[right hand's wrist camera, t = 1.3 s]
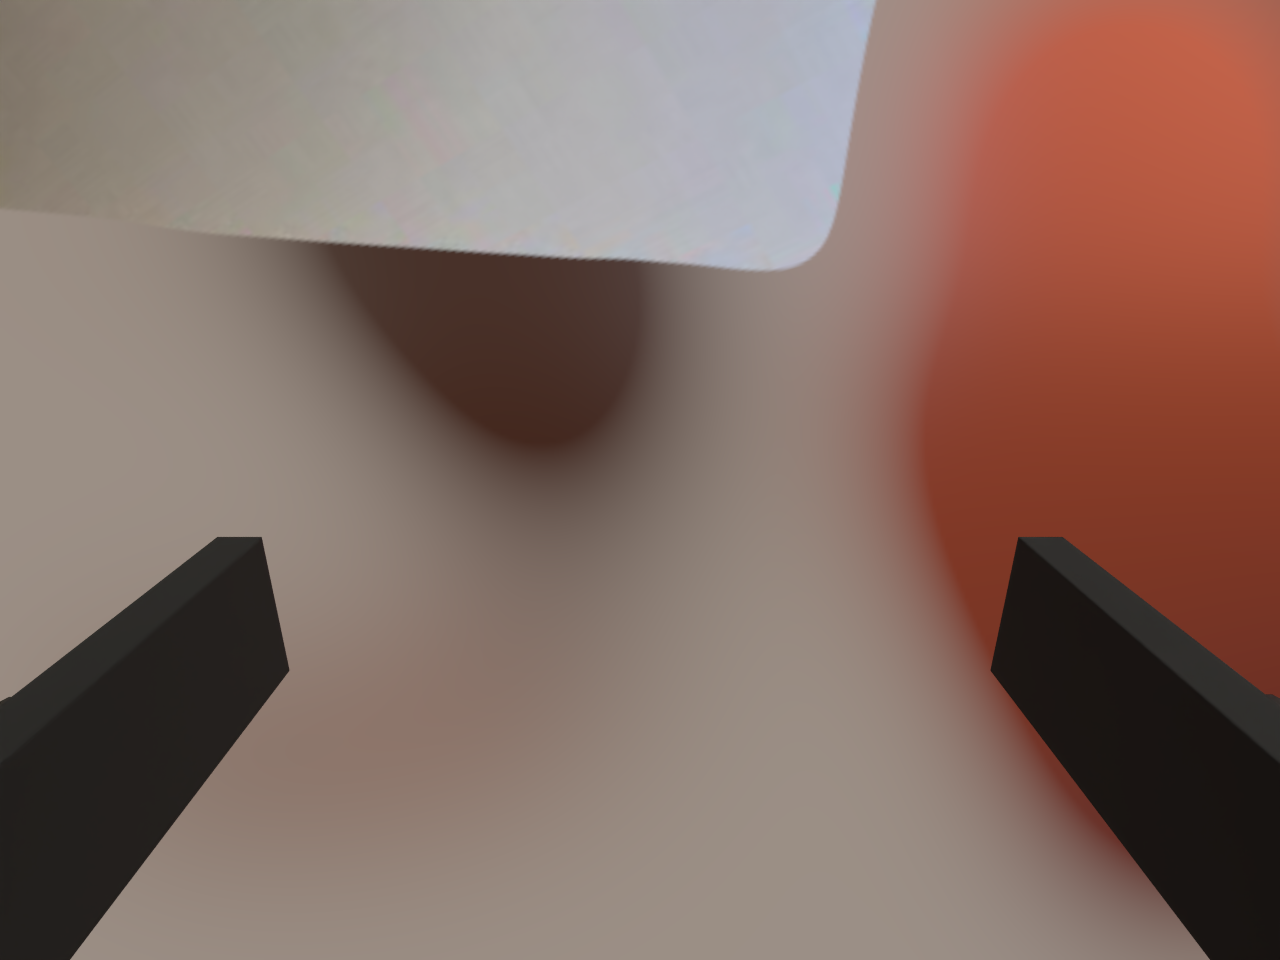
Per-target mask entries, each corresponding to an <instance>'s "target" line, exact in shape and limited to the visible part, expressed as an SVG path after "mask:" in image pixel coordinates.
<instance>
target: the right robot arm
mask: <svg viewBox="0 0 1280 960" xmlns="http://www.w3.org/2000/svg"><path fill="white" fill-rule="evenodd" d="M288 672H289V666H288V661H287V656H286V651H285V647H284V642H283V637H282V632H281V628H280V623H279V618H278V613H277V608H276V604H275V599H274V594H273V589H272V585H271V580H270V575H269V570H268V565H267V561H266V556H265V551H264V546H263V541H262V537H217V538H216V539H214V540H213V541H212V542H210V543H209V544H208V545H207V546H205V547H204V548H203V549H201V550H200V551H199V552H198V553H196V554H195V555H194V556H192V557H191V558H190V559H189V560H187V561H186V562H185V563H183V564H182V565H181V566H180V567H178V568H177V569H176V570H174V571H173V572H172V573H171V574H169V575H168V576H167V577H165V578H164V579H163V580H162V581H160V582H159V583H158V584H156V585H155V586H154V587H153V588H151V589H150V590H149V591H147V592H146V593H145V594H144V595H142V596H141V597H140V598H138V599H137V600H136V601H135V602H133V603H132V604H131V605H129V606H128V607H127V608H125V609H124V610H123V611H122V612H120V613H119V614H118V615H116V616H115V617H114V618H113V619H111V620H110V621H109V622H108V623H106V624H105V625H104V626H102V627H101V628H100V629H98V630H97V631H96V632H95V633H93V634H92V635H91V636H89V637H88V638H87V639H86V640H84V641H83V642H82V643H80V644H79V645H78V646H77V647H75V648H74V649H73V650H71V651H70V652H69V653H68V654H66V655H65V656H64V657H62V658H61V659H60V660H59V661H57V662H56V663H55V664H53V665H52V666H51V667H50V668H48V669H47V670H46V671H44V672H43V673H42V674H41V675H39V676H38V677H37V678H35V679H34V680H33V681H32V682H30V683H29V684H28V685H26V686H25V687H24V688H23V689H21V690H20V691H19V692H17V693H16V694H15V695H14V696H12V697H8V698H6V699H4V700H2V701H0V960H70V959H71V958H72V956H73V955H74V954H75V952H76V951H77V950H78V948H79V947H80V946H81V944H82V943H83V942H84V940H85V939H86V938H87V936H88V935H89V934H90V933H91V931H92V930H93V928H94V927H95V926H96V925H97V923H98V922H99V921H100V919H101V918H102V917H103V915H104V914H105V913H106V911H107V910H108V909H109V908H110V906H111V905H112V904H113V902H114V901H115V900H116V898H117V897H118V896H119V894H120V893H121V892H122V890H123V889H124V888H125V886H126V885H127V884H128V882H129V881H130V880H131V879H132V877H133V876H134V875H135V873H136V872H137V871H138V869H139V868H140V867H141V865H142V864H143V863H144V861H145V860H146V859H147V857H148V856H149V855H150V854H151V852H152V851H153V850H154V848H155V847H156V846H157V844H158V843H159V842H160V840H161V839H162V838H163V836H164V835H165V834H166V832H167V831H168V830H169V828H170V827H171V826H172V825H173V823H174V822H175V820H176V819H177V818H178V817H179V815H180V814H181V813H182V811H183V810H184V809H185V807H186V806H187V805H188V803H189V802H190V801H191V799H192V798H193V797H194V796H195V794H196V793H197V792H198V790H199V789H200V788H201V786H202V785H203V784H204V782H205V781H206V780H207V778H208V777H209V776H210V774H211V773H212V772H213V771H214V769H215V768H216V767H217V765H218V764H219V763H220V761H221V760H222V759H223V757H224V756H225V755H226V753H227V752H228V751H229V749H230V748H231V747H232V746H233V744H234V743H235V742H236V740H237V739H238V738H239V736H240V735H241V734H242V732H243V731H244V730H245V728H246V727H247V726H248V724H249V723H250V722H251V721H252V719H253V718H254V716H255V715H256V714H257V713H258V711H259V710H260V709H261V707H262V706H263V705H264V703H265V702H266V701H267V699H268V698H269V697H270V695H271V694H272V693H273V692H274V690H275V689H276V688H277V686H278V685H279V684H280V682H281V681H282V680H283V678H284V677H285V676H286V674H287V673H288ZM991 672H992V673H993V674H994V676H995V677H996V678H997V680H998V681H999V682H1000V684H1001V685H1002V686H1003V688H1004V689H1005V690H1006V691H1007V693H1008V694H1009V695H1010V697H1011V698H1012V699H1013V701H1014V702H1015V703H1016V705H1017V706H1018V707H1019V709H1020V710H1021V711H1022V713H1023V714H1024V715H1025V717H1026V718H1027V719H1028V720H1029V722H1030V723H1031V724H1032V726H1033V727H1034V728H1035V730H1036V731H1037V732H1038V734H1039V735H1040V736H1041V738H1042V739H1043V740H1044V742H1045V743H1046V744H1047V745H1048V747H1049V748H1050V749H1051V751H1052V752H1053V753H1054V755H1055V756H1056V757H1057V759H1058V760H1059V761H1060V763H1061V764H1062V765H1063V767H1064V768H1065V769H1066V771H1067V772H1068V773H1069V775H1070V776H1071V777H1072V778H1073V780H1074V781H1075V782H1076V784H1077V785H1078V786H1079V788H1080V789H1081V790H1082V792H1083V793H1084V794H1085V796H1086V797H1087V798H1088V800H1089V801H1090V802H1091V803H1092V805H1093V806H1094V807H1095V809H1096V810H1097V811H1098V813H1099V814H1100V815H1101V817H1102V818H1103V819H1104V821H1105V822H1106V823H1107V825H1108V826H1109V827H1110V829H1111V830H1112V831H1113V832H1114V834H1115V835H1116V836H1117V838H1118V839H1119V840H1120V842H1121V843H1122V844H1123V846H1124V847H1125V848H1126V850H1127V851H1128V852H1129V854H1130V855H1131V856H1132V857H1133V859H1134V860H1135V861H1136V863H1137V864H1138V865H1139V867H1140V868H1141V869H1142V871H1143V872H1144V873H1145V875H1146V876H1147V877H1148V879H1149V880H1150V881H1151V882H1152V884H1153V885H1154V886H1155V888H1156V889H1157V890H1158V892H1159V893H1160V894H1161V896H1162V897H1163V898H1164V900H1165V901H1166V902H1167V904H1168V905H1169V906H1170V908H1171V909H1172V910H1173V911H1174V913H1175V914H1176V915H1177V917H1178V918H1179V919H1180V921H1181V922H1182V923H1183V925H1184V926H1185V927H1186V929H1187V930H1188V931H1189V932H1190V934H1191V935H1192V936H1193V938H1194V939H1195V940H1196V942H1197V943H1198V944H1199V946H1200V947H1201V948H1202V950H1203V951H1204V952H1205V954H1206V955H1207V956H1208V958H1209V959H1210V960H1280V698H1278V697H1276V696H1274V695H1271V694H1269V695H1267V694H1264V693H1263V692H1261V691H1260V690H1259V689H1257V688H1256V687H1255V686H1254V685H1252V684H1251V683H1250V682H1248V681H1247V680H1246V679H1245V678H1243V677H1242V676H1241V675H1239V674H1238V673H1237V672H1236V671H1234V670H1233V669H1232V668H1230V667H1229V666H1228V665H1227V664H1225V663H1224V662H1223V661H1221V660H1220V659H1219V658H1218V657H1216V656H1215V655H1214V654H1212V653H1211V652H1210V651H1208V650H1207V649H1206V648H1205V647H1203V646H1202V645H1201V644H1200V643H1198V642H1197V641H1196V640H1194V639H1193V638H1192V637H1191V636H1189V635H1188V634H1187V633H1185V632H1184V631H1183V630H1182V629H1180V628H1179V627H1178V626H1176V625H1175V624H1174V623H1172V622H1171V621H1170V620H1169V619H1167V618H1166V617H1165V616H1163V615H1162V614H1161V613H1160V612H1158V611H1157V610H1156V609H1154V608H1153V607H1152V606H1151V605H1149V604H1148V603H1147V602H1145V601H1144V600H1143V599H1142V598H1140V597H1139V596H1138V595H1136V594H1135V593H1134V592H1133V591H1131V590H1130V589H1129V588H1127V587H1126V586H1125V585H1124V584H1122V583H1121V582H1120V581H1118V580H1117V579H1116V578H1115V577H1113V576H1112V575H1111V574H1109V573H1108V572H1107V571H1106V570H1104V569H1103V568H1102V567H1100V566H1099V565H1098V564H1097V563H1095V562H1094V561H1093V560H1091V559H1090V558H1089V557H1088V556H1086V555H1085V554H1084V553H1082V552H1081V551H1080V550H1079V549H1077V548H1076V547H1075V546H1073V545H1072V544H1071V543H1069V542H1068V541H1067V540H1066V539H1064V538H1063V537H1018V542H1017V546H1016V551H1015V556H1014V561H1013V565H1012V570H1011V575H1010V580H1009V585H1008V589H1007V594H1006V599H1005V604H1004V608H1003V613H1002V618H1001V623H1000V628H999V632H998V637H997V642H996V647H995V652H994V656H993V661H992V666H991Z"/></svg>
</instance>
